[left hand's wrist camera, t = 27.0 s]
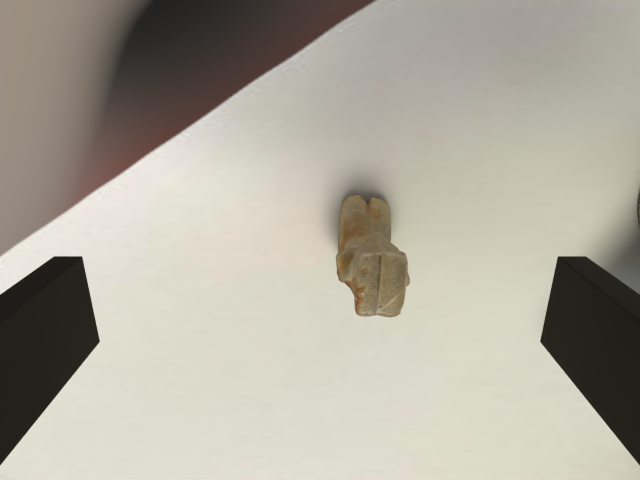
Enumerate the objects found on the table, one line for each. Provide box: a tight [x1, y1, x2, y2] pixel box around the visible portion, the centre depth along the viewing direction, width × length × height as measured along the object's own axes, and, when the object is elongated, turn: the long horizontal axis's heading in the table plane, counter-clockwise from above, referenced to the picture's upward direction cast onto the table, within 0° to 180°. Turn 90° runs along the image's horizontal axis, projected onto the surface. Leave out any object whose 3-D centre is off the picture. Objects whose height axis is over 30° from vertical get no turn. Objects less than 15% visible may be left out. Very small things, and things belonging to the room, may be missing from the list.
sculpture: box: [336, 195, 410, 317], centre depth 37 cm, size 6×7×15 cm
